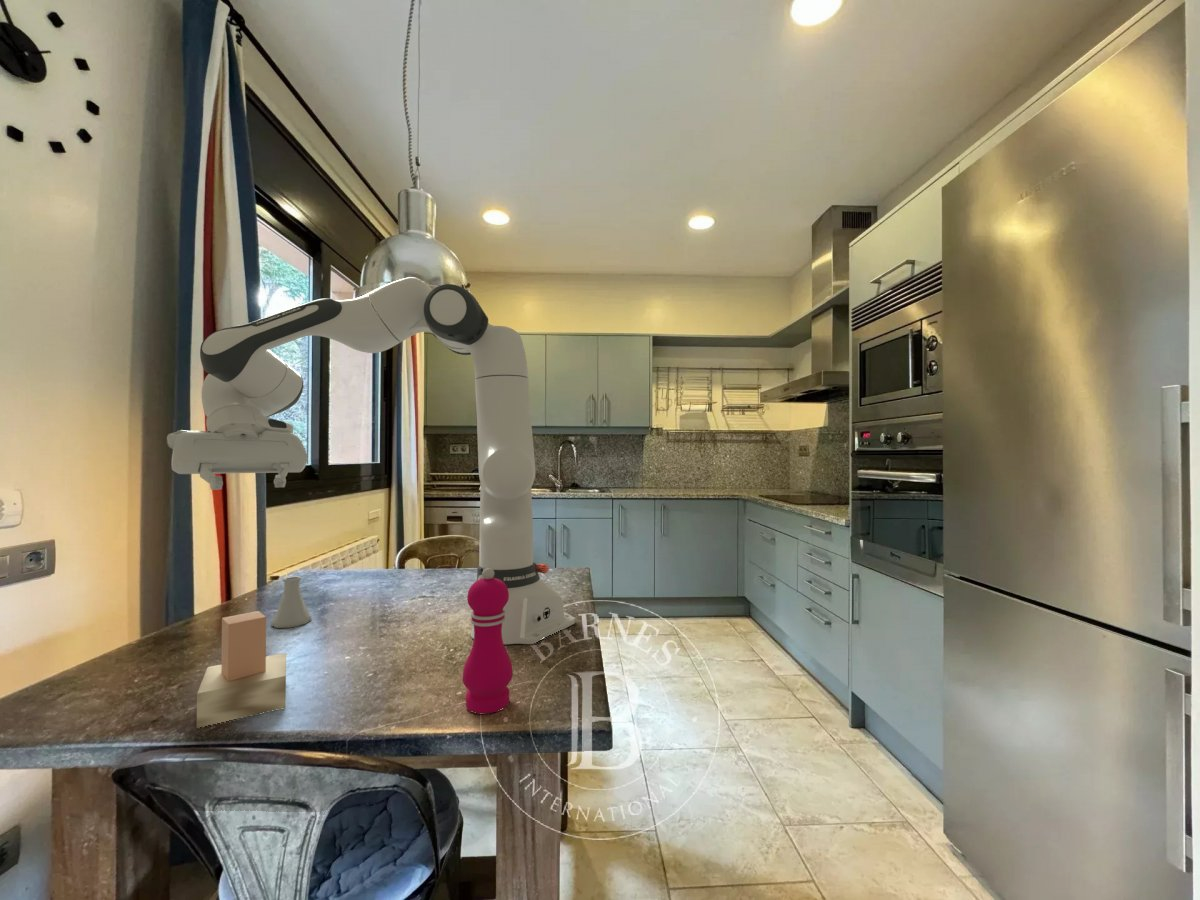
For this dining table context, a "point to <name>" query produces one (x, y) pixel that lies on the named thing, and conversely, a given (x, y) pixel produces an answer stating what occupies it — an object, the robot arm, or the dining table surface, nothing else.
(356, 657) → the dining table surface
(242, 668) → the terracotta block
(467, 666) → the pepper mill
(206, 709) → the birch block
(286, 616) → the flask
